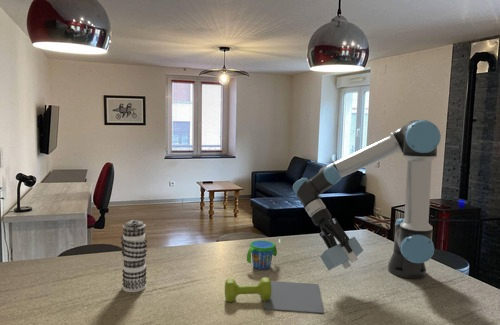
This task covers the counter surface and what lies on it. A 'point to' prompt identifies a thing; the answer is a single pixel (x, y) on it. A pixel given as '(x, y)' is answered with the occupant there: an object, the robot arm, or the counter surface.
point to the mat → (295, 297)
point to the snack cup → (261, 253)
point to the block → (339, 254)
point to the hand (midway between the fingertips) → (351, 264)
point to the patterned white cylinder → (134, 256)
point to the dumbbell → (248, 289)
